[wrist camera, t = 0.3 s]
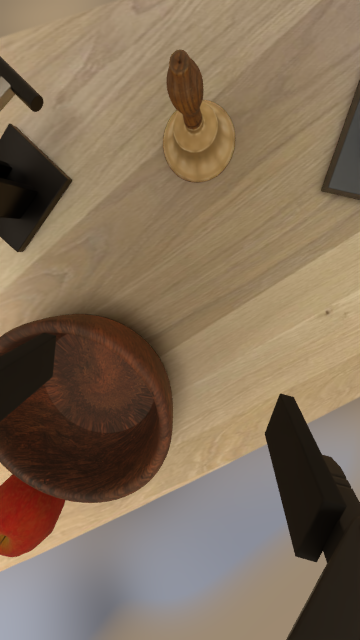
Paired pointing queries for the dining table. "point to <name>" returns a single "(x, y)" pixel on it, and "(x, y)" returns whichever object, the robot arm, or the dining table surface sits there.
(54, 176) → the bracket
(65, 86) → the dining table surface
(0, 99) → the lever
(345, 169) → the push button switch
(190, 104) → the hand bell
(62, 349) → the wooden bowl
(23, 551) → the apple
